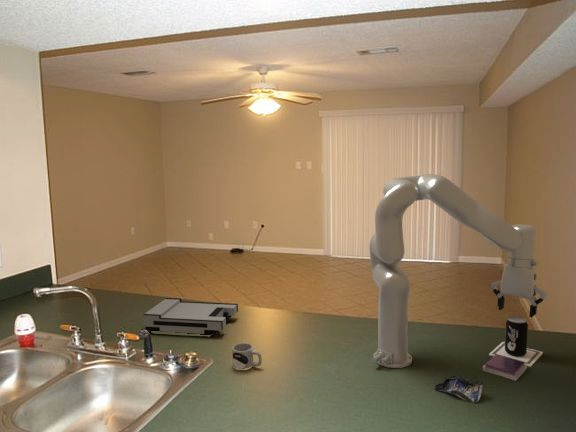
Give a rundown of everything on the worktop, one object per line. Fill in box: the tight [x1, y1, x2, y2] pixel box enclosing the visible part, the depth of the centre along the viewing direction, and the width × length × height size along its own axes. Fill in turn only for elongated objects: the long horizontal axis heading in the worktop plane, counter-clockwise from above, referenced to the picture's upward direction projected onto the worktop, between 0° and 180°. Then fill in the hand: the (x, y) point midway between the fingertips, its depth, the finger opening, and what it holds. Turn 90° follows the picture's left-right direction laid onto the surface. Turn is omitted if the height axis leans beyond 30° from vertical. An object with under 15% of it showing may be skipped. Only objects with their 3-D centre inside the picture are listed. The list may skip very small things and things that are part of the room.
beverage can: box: [504, 315, 529, 357], centre depth 155 cm, size 7×7×12 cm
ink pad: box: [482, 355, 528, 382], centre depth 146 cm, size 10×10×2 cm
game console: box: [142, 297, 239, 335], centre depth 187 cm, size 21×32×8 cm, turn 79°
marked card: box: [488, 341, 544, 368], centre depth 156 cm, size 13×13×1 cm
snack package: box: [434, 375, 484, 403], centre depth 133 cm, size 12×6×12 cm
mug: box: [231, 342, 263, 369], centre depth 152 cm, size 10×7×7 cm, turn 70°
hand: (516, 312), depth 154 cm, fingers open, 9 cm apart
